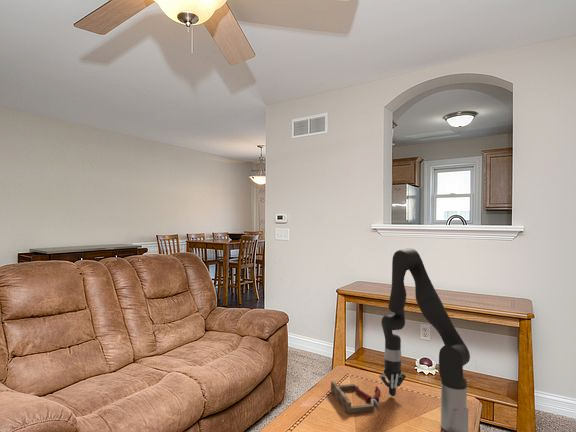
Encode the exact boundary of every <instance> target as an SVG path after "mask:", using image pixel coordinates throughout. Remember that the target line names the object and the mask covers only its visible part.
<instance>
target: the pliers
mask: <svg viewBox="0 0 576 432" xmlns="http://www.w3.org/2000/svg"><path fill="white" fill-rule="evenodd" d="M374 389H375V391H376V392H375V393H374V395H373V397H372V396H371V395H369V394H368V393H366V392H365V391H363V390H361V389H360V388H359V385H356V391H355V392H356V394H357V395H358V396H360V397H361V398H363V399H364V400H365V402H366V403H370V404H373V405H374V407H376V408H377V409H379V411H380V410H382V409H381V406H380V404H379V403H380V396H381V390H380V388H379V387H378V385H377V386H375V388H374Z"/></svg>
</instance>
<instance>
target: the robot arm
mask: <svg viewBox="0 0 576 432" xmlns="http://www.w3.org/2000/svg"><path fill="white" fill-rule="evenodd" d="M391 263H392V264H391V290H390V295H389V301H388V310H389V311H390V312H392V313H394V314H386V315H384V316H382V319H381V321H380V323H381V327H382V332H383V335H384V342H385V343H384V356H383V357H384V362H383V365H384V366H383V367H384V370H383V374H380V375H379V378H380V380H381V381H382V383H383V384H384V385H385V386H386V387H387V388H388V394H389V395H390V396H391V397H396V395H397V388H398V387H400V386H401V385H402V384H403V381H404V380H405V378H406V376H407V375H406V374H404V373H403V372H402V351H401V350H402V343H401V342H402V341H401V340H402V338H401V336H400V335H398V334H395V333H393V331H400V330H403V328H404V327H405V326H406V319H405V306H406V302H407V301H406V300H407V290H406V285H405V276H406V273H407V271H409V272H410V274H411V277H412V279H413V281H414V286H415V287H414V288H415V290H414V291H415V301H416V304H417V306H418V307H419V310H420V312H421V314H422V315H423V317H424V319H425V320H426V321H427V322H428V323H429V324H430V325H431V326H432V327H433V328H434V329H435V330H436V331H437V333H438V334H439V336H440V339H441V340H442V343H443V344H444V345H443V346H442V347H441V348H440V349H439V353H438V369H439V371H438V372H439V377H440V380H441V381H440V382H441V384H440V427H441V429H443V431H445V432H469V408H467V407H468V406H467V405H468V403H467V399H468V392H467V391H468V390H467V389H468V381H467V379H466V377H464V370H463V369H464V366H465V365H467V364H468V363H469V362H470V359H471V355H470V351H469V348H468V346H467V345H466V343H465V341H464V340H463V339H462V337H461V336H460V334H459V333H458V331H457V329H456V327H455V326H454V324H453V322H452V320H451V318H450V316H449V314H448V313H447V310H446V308H445V307H444V304H443V301H442V300H441V298H440V296H439V295H438V293H437V290H436V289H435V287H434V285H433V283H432V281H431V279H430V277H429V275H428V274H429V273H428V272H427V270H426V268H425V265H424V262H423V259H422V257H421V256H420V254H419V252H418V251H417V250H416V249H414V248H404V249H399V250H397V251H395V252H394V254H393V256H392V261H391Z"/></svg>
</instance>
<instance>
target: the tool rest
mask: <svg viewBox="0 0 576 432" xmlns="http://www.w3.org/2000/svg"><path fill="white" fill-rule="evenodd" d="M356 386H357V385H356V384H355V383H350V384H340V385H338V383H336V381H335V380H330V392H331V394H332V395H333V397H334V398H335V399H336V401H337V403H339V404H340V407H341V408H343V410H344V412H345V413H346V414H347V415H357V414H364V413H365V414H366V413H373V412H375V404H374V405H373V404H371V403H370V404H360V405H353V406H352V402H351V400H350V399H349V398H348V397H347V395H346V394H345V392H356Z"/></svg>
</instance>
